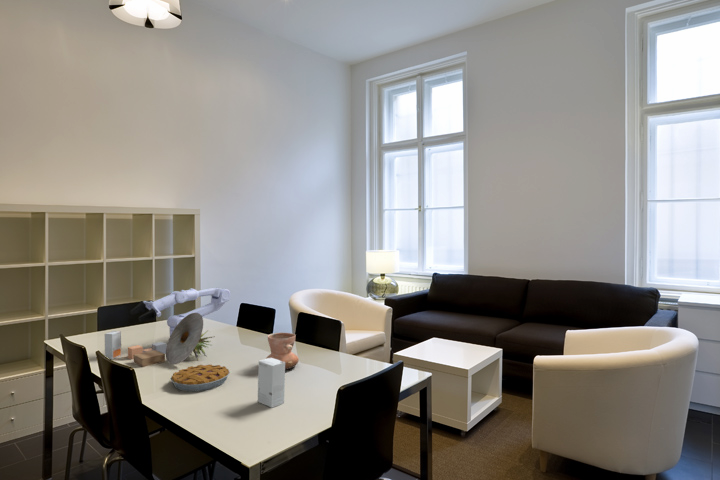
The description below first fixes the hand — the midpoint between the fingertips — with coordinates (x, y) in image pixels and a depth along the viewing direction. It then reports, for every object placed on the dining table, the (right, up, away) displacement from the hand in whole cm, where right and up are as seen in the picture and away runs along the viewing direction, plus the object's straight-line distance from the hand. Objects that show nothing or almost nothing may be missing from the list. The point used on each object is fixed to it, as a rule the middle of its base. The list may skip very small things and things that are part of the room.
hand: (135, 316), depth 214 cm
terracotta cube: (+1, -19, -2) cm, 20 cm away
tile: (+3, -19, +7) cm, 21 cm away
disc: (+29, -20, -5) cm, 35 cm away
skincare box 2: (+77, -21, -58) cm, 99 cm away
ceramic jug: (+74, -19, -18) cm, 78 cm away
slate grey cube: (+10, -19, +4) cm, 22 cm away
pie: (+45, -21, -37) cm, 62 cm away
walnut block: (+11, -20, -10) cm, 25 cm away
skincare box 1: (-10, -20, -2) cm, 22 cm away
